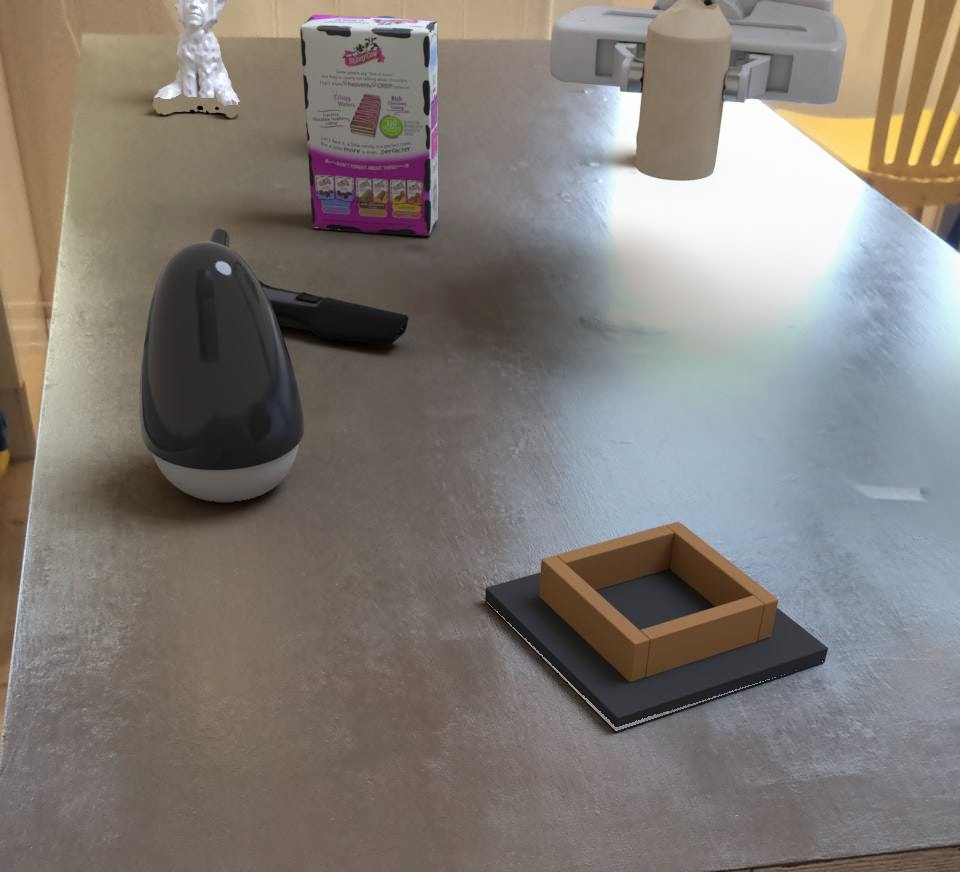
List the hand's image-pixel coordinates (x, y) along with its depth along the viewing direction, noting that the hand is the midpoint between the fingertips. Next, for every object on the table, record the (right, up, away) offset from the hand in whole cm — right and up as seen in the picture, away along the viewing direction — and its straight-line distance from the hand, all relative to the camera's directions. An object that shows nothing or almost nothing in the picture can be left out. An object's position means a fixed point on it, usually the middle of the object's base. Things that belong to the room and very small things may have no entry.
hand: (683, 83), depth 90 cm
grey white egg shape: (-30, -27, 0) cm, 40 cm away
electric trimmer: (-26, -10, +18) cm, 33 cm away
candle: (0, -4, +5) cm, 6 cm away
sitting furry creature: (-44, +32, +62) cm, 83 cm away
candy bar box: (-23, +7, +36) cm, 43 cm away
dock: (-4, -38, -12) cm, 40 cm away
